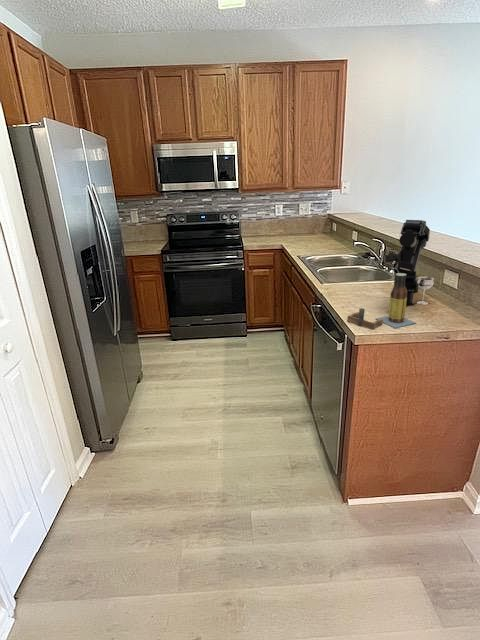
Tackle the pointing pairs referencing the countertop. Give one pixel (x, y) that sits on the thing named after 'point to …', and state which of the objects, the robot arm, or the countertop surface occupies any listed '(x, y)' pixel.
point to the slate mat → (396, 324)
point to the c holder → (359, 320)
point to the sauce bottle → (398, 299)
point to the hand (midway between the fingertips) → (396, 285)
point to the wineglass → (425, 286)
